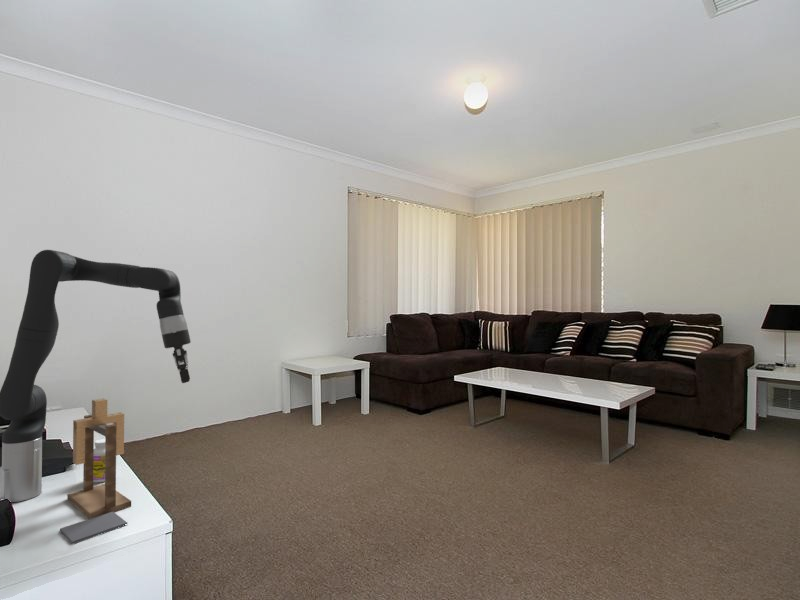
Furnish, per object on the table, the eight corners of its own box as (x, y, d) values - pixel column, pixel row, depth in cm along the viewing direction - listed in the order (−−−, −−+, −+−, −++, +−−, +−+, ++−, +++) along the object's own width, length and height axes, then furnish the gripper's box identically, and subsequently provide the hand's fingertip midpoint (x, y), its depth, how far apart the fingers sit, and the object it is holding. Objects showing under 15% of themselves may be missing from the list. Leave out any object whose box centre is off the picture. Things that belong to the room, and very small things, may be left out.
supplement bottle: (87, 484, 143) (87, 444, 143) (94, 476, 149) (95, 438, 149) (110, 482, 145) (111, 442, 145) (117, 474, 151) (117, 436, 151)
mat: (72, 544, 107) (72, 541, 107) (59, 530, 113) (59, 528, 113) (127, 524, 116) (127, 522, 116) (112, 513, 123) (112, 511, 123)
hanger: (76, 465, 124) (76, 404, 124) (72, 462, 126) (73, 402, 126) (123, 453, 133) (124, 397, 134) (120, 451, 135) (120, 396, 135)
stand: (90, 519, 119) (91, 430, 120) (67, 499, 132) (68, 418, 132) (131, 506, 127) (131, 422, 127) (105, 488, 140) (106, 412, 140)
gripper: (163, 335, 144) (174, 383, 143) (159, 333, 131) (171, 386, 131) (188, 329, 147) (199, 377, 147) (187, 327, 134) (199, 379, 134)
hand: (186, 381), depth 139 cm, fingers open, 8 cm apart
